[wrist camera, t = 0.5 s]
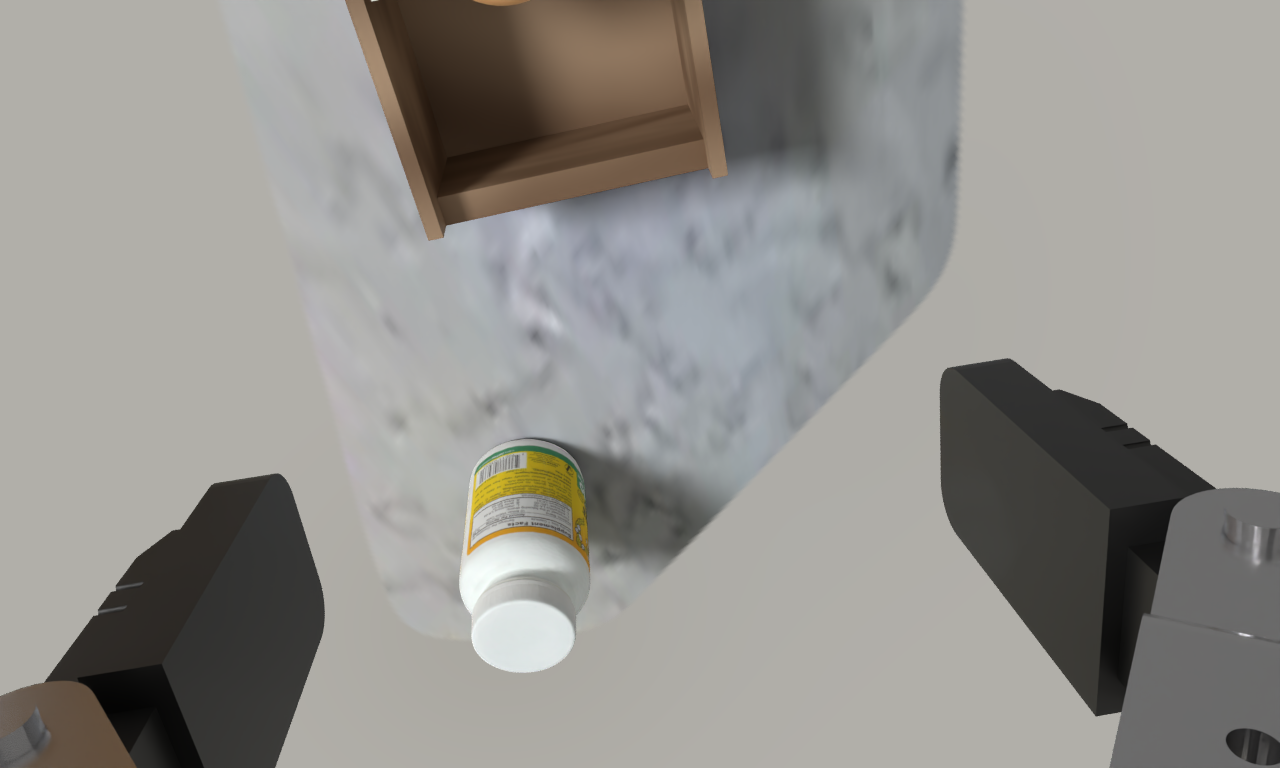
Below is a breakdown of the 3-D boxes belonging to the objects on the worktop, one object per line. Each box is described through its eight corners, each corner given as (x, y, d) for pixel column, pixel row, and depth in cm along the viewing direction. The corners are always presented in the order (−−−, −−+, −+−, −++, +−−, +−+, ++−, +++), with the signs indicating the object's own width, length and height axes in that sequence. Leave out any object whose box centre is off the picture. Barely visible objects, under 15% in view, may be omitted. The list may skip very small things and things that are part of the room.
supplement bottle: (492, 420, 42) (480, 571, 34) (603, 454, 44) (616, 606, 36) (454, 508, 45) (434, 668, 37) (560, 537, 46) (563, 697, 38)
